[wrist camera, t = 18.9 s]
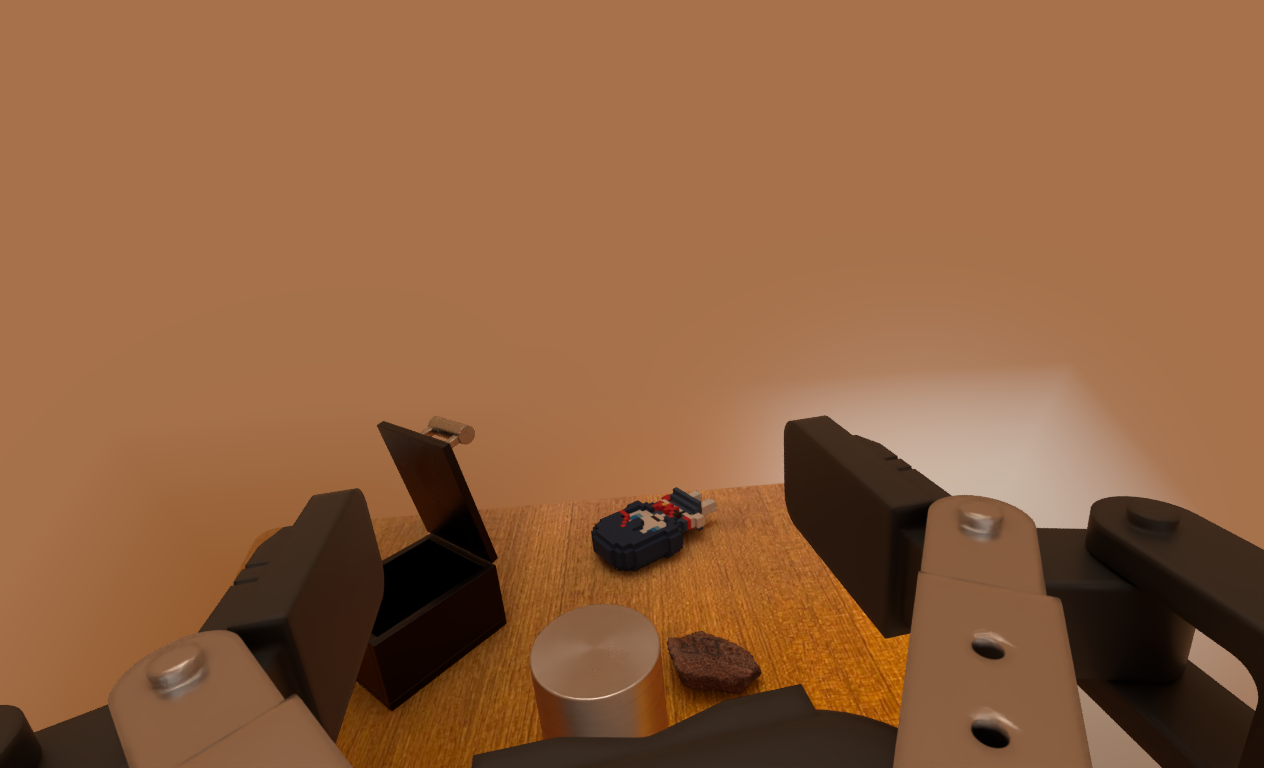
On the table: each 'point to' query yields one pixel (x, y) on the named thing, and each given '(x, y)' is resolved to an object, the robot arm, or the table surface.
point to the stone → (712, 663)
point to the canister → (599, 674)
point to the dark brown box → (428, 617)
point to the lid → (439, 482)
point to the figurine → (649, 529)
